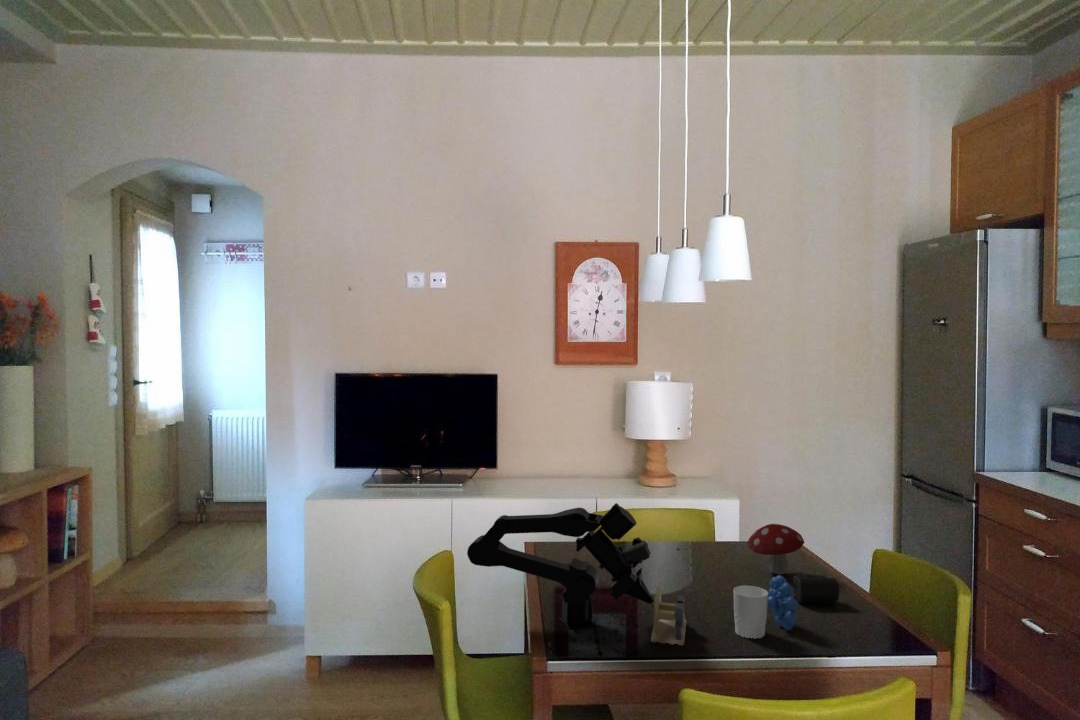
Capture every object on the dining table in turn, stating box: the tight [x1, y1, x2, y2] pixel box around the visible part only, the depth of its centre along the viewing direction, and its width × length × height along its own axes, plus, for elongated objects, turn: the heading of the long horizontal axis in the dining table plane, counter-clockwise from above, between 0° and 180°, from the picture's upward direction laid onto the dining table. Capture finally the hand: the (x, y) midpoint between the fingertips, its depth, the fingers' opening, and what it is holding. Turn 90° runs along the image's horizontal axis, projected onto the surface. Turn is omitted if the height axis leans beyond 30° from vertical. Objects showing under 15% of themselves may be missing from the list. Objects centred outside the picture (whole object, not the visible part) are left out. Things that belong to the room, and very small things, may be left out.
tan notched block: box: [653, 586, 676, 633], centre depth 172 cm, size 4×8×8 cm, turn 166°
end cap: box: [792, 574, 840, 605], centre depth 193 cm, size 10×7×7 cm
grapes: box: [767, 574, 799, 631], centre depth 176 cm, size 12×7×12 cm, turn 11°
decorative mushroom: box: [747, 523, 805, 575], centre depth 215 cm, size 16×16×15 cm
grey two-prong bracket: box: [674, 595, 686, 640], centre depth 171 cm, size 2×12×6 cm, turn 166°
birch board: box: [650, 619, 687, 646], centre depth 172 cm, size 7×13×1 cm, turn 166°
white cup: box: [732, 585, 769, 640], centre depth 172 cm, size 8×8×10 cm
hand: (652, 602), depth 173 cm, fingers closed
